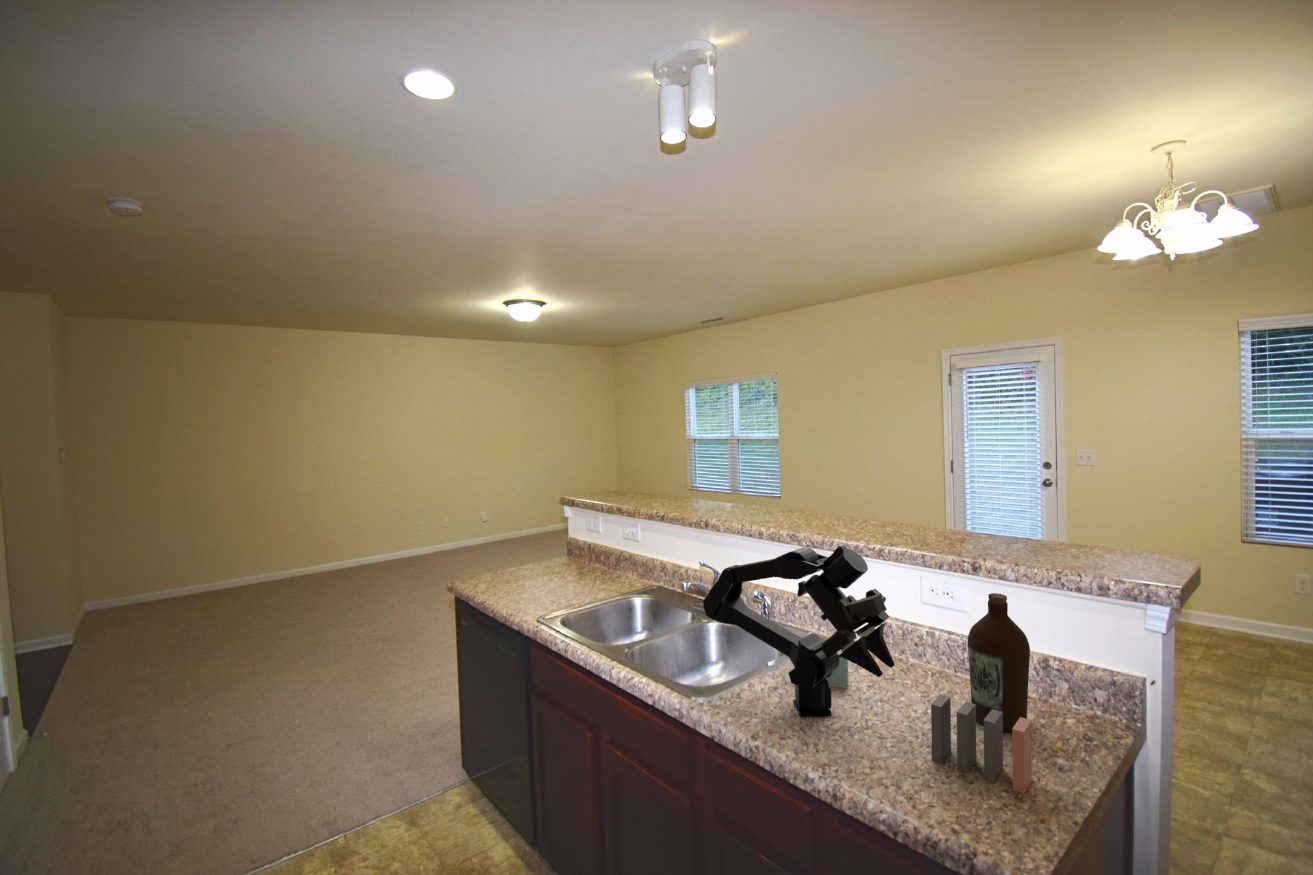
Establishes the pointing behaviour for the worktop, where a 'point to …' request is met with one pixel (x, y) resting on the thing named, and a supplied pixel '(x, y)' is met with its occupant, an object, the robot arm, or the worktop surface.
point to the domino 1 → (941, 728)
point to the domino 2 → (966, 737)
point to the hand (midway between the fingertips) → (887, 670)
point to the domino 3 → (993, 745)
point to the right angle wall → (839, 674)
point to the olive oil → (999, 665)
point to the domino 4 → (1022, 755)
